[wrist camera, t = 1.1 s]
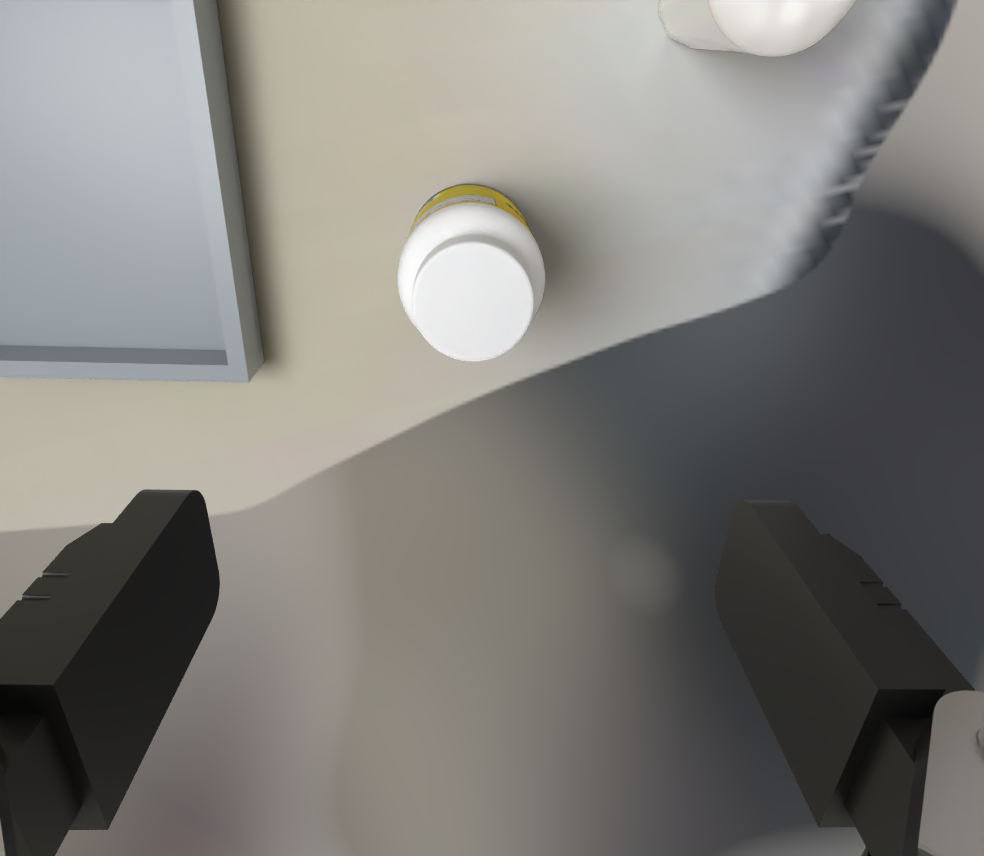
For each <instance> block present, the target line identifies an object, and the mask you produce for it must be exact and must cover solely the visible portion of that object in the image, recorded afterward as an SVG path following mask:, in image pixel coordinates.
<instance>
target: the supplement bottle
mask: <svg viewBox="0 0 984 856" xmlns="http://www.w3.org/2000/svg"><path fill="white" fill-rule="evenodd" d="M398 289H399V294H400V298H401V302H402V305H403V307H404V309H405V311H406V314H407V315H408V317H409V318H410V320H411V322H412V323H413V324H414V325H415V327H416V328H417V329H418V330H419V331H420V332H421V334H422V335H423V337H424V338H425V339H426V340H427V341H428V343H430V344H431V345H432V346H433V347H434V348H435V349H436V350H438V351H439V352H441V353H443V354H445V355H447V356H449V357H451V358H454V359H457V360H462V361H485V360H488V359H492V358H495V357H498V356H500V355H502V354H503V353H505V352H507V351H508V350H509V349H511V348H512V347H514V346H515V345H516V344H517V343H518V342H519V341H520V339H521V338H522V337H523V335H524V334H525V332H526V331H527V329H528V327H529V325H530V323H531V322H532V320H533V319H534V317H535V315H536V313H537V311H538V309H539V307H540V305H541V302H542V298H543V294H544V289H545V269H544V263H543V259H542V255H541V252H540V249H539V247H538V244H537V242H536V240H535V238H534V237H533V235H532V233H531V231H530V229H529V227H528V225H527V223H526V221H525V219H524V217H523V215H522V214H521V212H520V210H519V209H518V208H517V207H516V205H515V204H514V203H513V202H512V201H511V200H510V199H509V198H508V197H506V196H505V195H504V194H502V193H501V192H499V191H497V190H495V189H493V188H491V187H488V186H484V185H479V184H459V185H455V186H451V187H448V188H446V189H444V190H442V191H440V192H438V193H437V194H435V195H434V196H433V197H431V198H430V199H429V200H428V201H427V202H426V203H425V204H424V206H423V207H422V208H421V210H420V211H419V213H418V214H417V216H416V218H415V220H414V223H413V225H412V227H411V230H410V233H409V235H408V238H407V241H406V243H405V245H404V248H403V250H402V253H401V257H400V261H399V266H398Z"/></svg>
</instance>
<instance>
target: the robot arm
mask: <svg viewBox="0 0 984 856" xmlns="http://www.w3.org/2000/svg"><path fill="white" fill-rule="evenodd" d="M219 587H220V581H219V570H218V565H217V560H216V555H215V549H214V544H213V539H212V534H211V529H210V524H209V518H208V513H207V508H206V503H205V500H204V497H203V496H202V494H201V493H200V492H199V491H197V490H142V491H140V492H139V493H138V494H137V495H136V496H135V497H134V498H133V500H132V501H131V502H130V503H129V504H128V506H127V507H126V508H125V509H124V510H123V512H122V513H121V514H120V515H119V516H118V518H117V519H116V520H115V521H114V522H113V523H101V524H100V525H98V526H97V527H95V528H94V529H92V530H90V531H89V532H87V533H85V534H84V535H82V536H81V537H79V538H78V539H76V540H74V541H73V542H71V543H70V544H68V545H67V546H66V547H65V548H64V549H63V550H62V551H61V552H60V553H59V555H58V556H57V557H56V558H55V559H54V560H53V561H52V562H51V563H50V565H49V566H48V567H47V568H46V569H45V570H44V571H43V576H42V577H38V578H37V579H36V580H35V581H34V582H33V583H32V585H31V586H30V587H29V588H28V589H27V590H26V591H25V592H24V594H23V598H22V600H21V601H19V600H18V601H16V602H15V604H13V606H12V607H11V608H10V609H9V610H8V611H7V612H6V613H5V615H4V616H3V617H2V618H1V619H0V856H55V854H56V853H57V851H58V849H59V847H60V845H61V843H62V841H63V840H64V837H65V836H66V834H67V832H68V831H69V830H108V828H109V826H110V824H111V822H112V820H113V818H114V816H115V814H116V812H117V810H118V808H119V806H120V804H121V802H122V800H123V798H124V796H125V794H126V792H127V790H128V788H129V786H130V784H131V782H132V780H133V778H134V776H135V774H136V772H137V770H138V768H139V766H140V764H141V762H142V760H143V758H144V756H145V754H146V752H147V749H148V747H149V745H150V743H151V741H152V739H153V737H154V735H155V733H156V731H157V729H158V727H159V725H160V723H161V721H162V719H163V717H164V715H165V713H166V711H167V709H168V707H169V705H170V703H171V701H172V699H173V697H174V695H175V693H176V691H177V689H178V687H179V684H180V682H181V681H182V679H183V677H184V674H185V672H186V670H187V668H188V666H189V664H190V662H191V660H192V658H193V656H194V654H195V652H196V650H197V648H198V646H199V644H200V642H201V640H202V638H203V636H204V634H205V632H206V630H207V628H208V626H209V624H210V622H211V620H212V618H213V615H214V613H215V610H216V606H217V602H218V597H219ZM715 604H716V610H717V614H718V617H719V620H720V622H721V624H722V627H723V629H724V631H725V633H726V635H727V637H728V639H729V641H730V643H731V645H732V647H733V650H734V652H735V654H736V656H737V658H738V660H739V662H740V664H741V666H742V668H743V670H744V673H745V675H746V677H747V679H748V681H749V683H750V685H751V687H752V689H753V691H754V693H755V696H756V697H757V700H758V702H759V704H760V706H761V708H762V710H763V712H764V714H765V716H766V718H767V721H768V723H769V725H770V727H771V729H772V731H773V733H774V735H775V737H776V739H777V742H778V743H779V746H780V748H781V750H782V752H783V754H784V756H785V758H786V760H787V762H788V764H789V766H790V769H791V771H792V773H793V775H794V777H795V779H796V781H797V783H798V785H799V787H800V789H801V792H802V794H803V796H804V798H805V800H806V802H807V804H808V806H809V808H810V810H811V812H812V815H813V817H814V819H815V821H816V823H817V825H818V827H856V828H857V830H858V832H859V834H860V836H861V838H862V840H863V841H864V843H865V845H866V846H865V848H864V850H863V852H862V854H861V856H984V692H978V691H975V689H974V688H973V687H972V686H971V685H970V684H969V682H968V681H967V680H966V679H965V678H964V677H963V676H962V674H961V673H960V672H959V671H958V669H957V668H956V667H955V666H954V665H953V664H952V662H951V661H950V660H949V659H948V658H947V657H946V656H945V654H944V653H943V652H942V651H941V650H940V649H939V647H938V646H937V645H936V644H935V643H934V641H933V640H932V639H931V638H930V637H929V635H928V634H927V633H926V632H925V631H924V630H923V628H922V627H921V626H920V625H919V624H918V623H917V621H916V620H915V619H914V618H913V617H912V616H911V614H910V613H909V612H908V611H907V610H906V609H902V608H901V603H900V602H899V600H898V599H897V598H896V597H895V596H894V594H893V593H892V592H891V591H890V590H889V589H888V588H887V587H883V582H882V580H881V579H880V578H879V577H878V576H877V575H876V574H875V572H874V571H873V570H872V569H871V568H870V566H869V565H868V564H867V563H866V562H865V561H864V559H863V558H862V557H861V556H860V555H858V554H857V553H855V552H854V551H852V550H851V549H850V548H848V547H847V546H845V545H843V544H842V543H841V542H839V541H838V540H836V539H835V538H833V537H832V536H831V535H829V534H820V533H819V531H818V530H817V529H816V528H815V526H814V525H813V524H812V523H811V522H810V520H809V519H808V518H807V517H806V515H805V514H804V513H803V511H802V510H801V509H800V508H799V507H798V505H796V504H795V503H794V502H792V501H770V500H769V501H767V500H741V501H739V502H738V503H737V504H736V505H735V507H734V509H733V512H732V516H731V520H730V524H729V528H728V532H727V536H726V540H725V544H724V548H723V552H722V556H721V560H720V564H719V568H718V572H717V576H716V581H715Z"/></svg>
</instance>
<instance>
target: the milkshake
mask: <svg viewBox="0 0 984 856" xmlns="http://www.w3.org/2000/svg"><path fill="white" fill-rule="evenodd" d="M855 1H856V0H660V2H659V8H658V13H659V15H660V18H661V20H662V22H663V25H664V27H665V29H666V31H667V34H668V36H669V37H670V38H672V39H674V40H676V41H678V42H680V43H682V44H684V45H686V46H688V47H690V48H694V49H708V50H722V51H736V52H742V53H748V54H754V55H760V56H785V55H790V54H794V53H797V52H800V51H802V50H805V49H807V48H809V47H810V46H812V45H814V44H815V43H817V42H818V41H819V40H821V39H822V38H823V37H824V36H825V35H827V34H828V33H829V32H830V31H831V30H832V29H833V28H834V27H835V26H836V25H837V24H838V22H839V21H840V20H841V19H842V18H843V17H844V16H845V15H846V13H847V12H848V11H849V10H850V9H851V7H852V6H853V4H854V3H855Z"/></svg>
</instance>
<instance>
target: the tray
mask: <svg viewBox="0 0 984 856" xmlns="http://www.w3.org/2000/svg"><path fill="white" fill-rule="evenodd" d="M263 363H264V357H263V350H262V342H261V335H260V327H259V320H258V312H257V305H256V297H255V290H254V282H253V274H252V267H251V259H250V252H249V244H248V237H247V229H246V222H245V214H244V206H243V199H242V191H241V184H240V176H239V169H238V161H237V154H236V146H235V139H234V131H233V123H232V116H231V108H230V101H229V93H228V86H227V78H226V71H225V63H224V55H223V48H222V40H221V33H220V25H219V18H218V10H217V3H216V0H0V377H21V378H68V379H116V380H164V381H211V382H249V381H250V380H251V379H252V377H253V376H254V375H255V373H256V372H257V371H258V369H259V368H260V367H261V366H262V364H263Z"/></svg>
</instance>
